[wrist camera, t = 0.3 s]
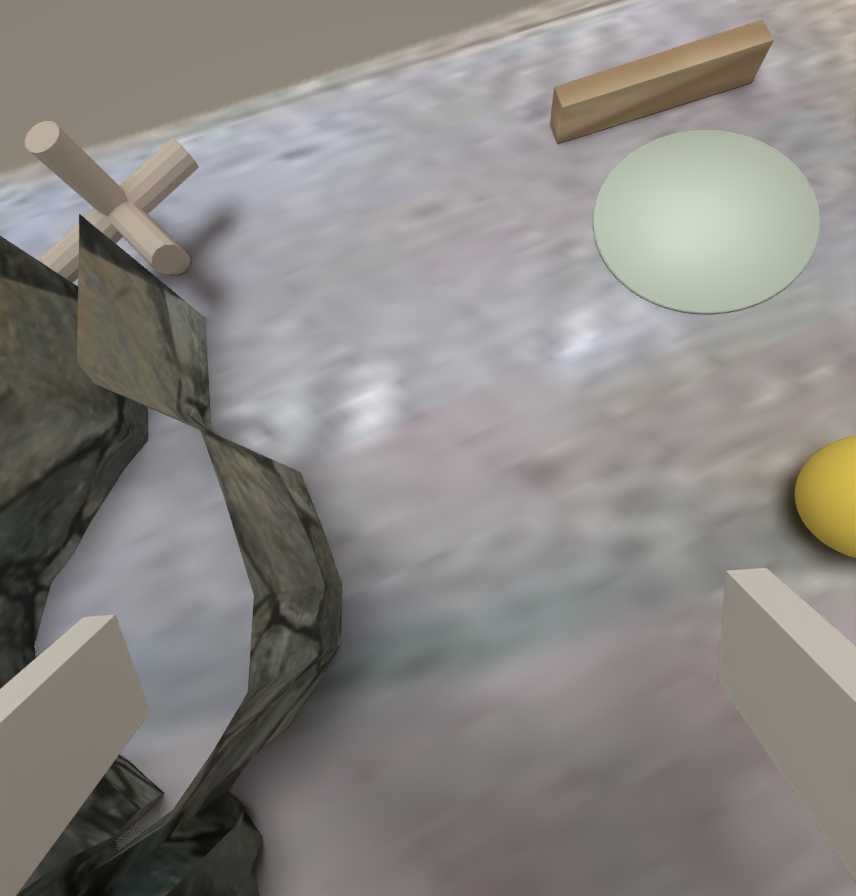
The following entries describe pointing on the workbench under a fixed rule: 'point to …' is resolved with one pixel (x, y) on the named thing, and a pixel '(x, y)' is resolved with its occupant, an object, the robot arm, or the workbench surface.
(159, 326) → the stone wall
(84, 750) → the robot arm
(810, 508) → the ball
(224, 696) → the workbench surface
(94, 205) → the pipe connector
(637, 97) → the stopper
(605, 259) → the mark
